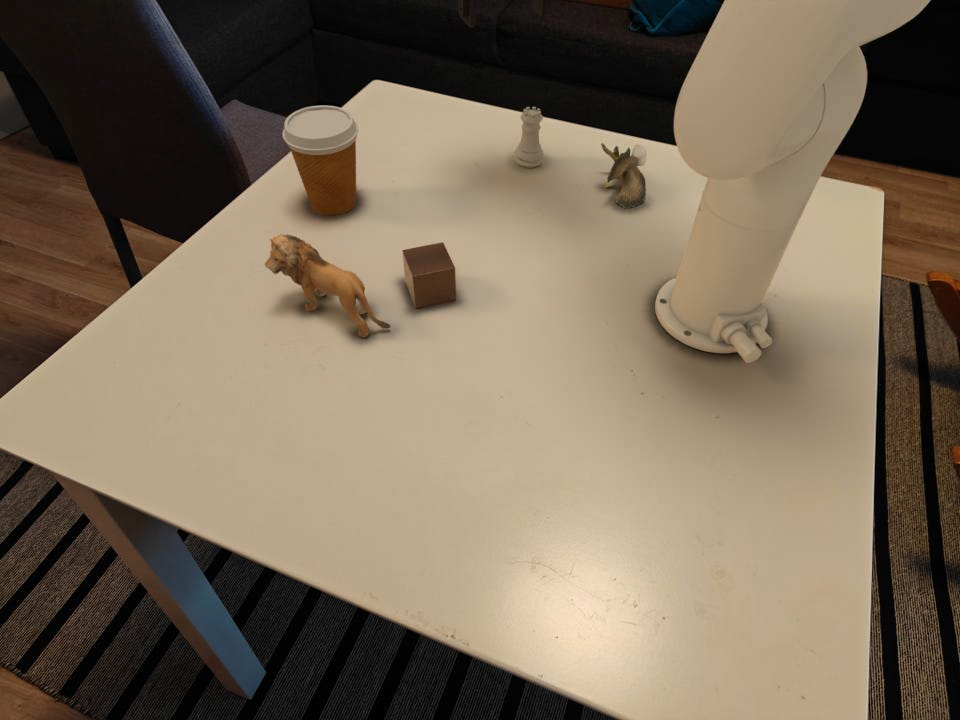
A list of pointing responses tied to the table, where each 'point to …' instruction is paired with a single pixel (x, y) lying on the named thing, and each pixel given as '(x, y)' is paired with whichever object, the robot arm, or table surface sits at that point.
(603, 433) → the table surface
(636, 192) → the horned animal figurine
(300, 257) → the lion figurine
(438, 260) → the walnut block
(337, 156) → the disposable coffee cup
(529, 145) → the rook chess piece
